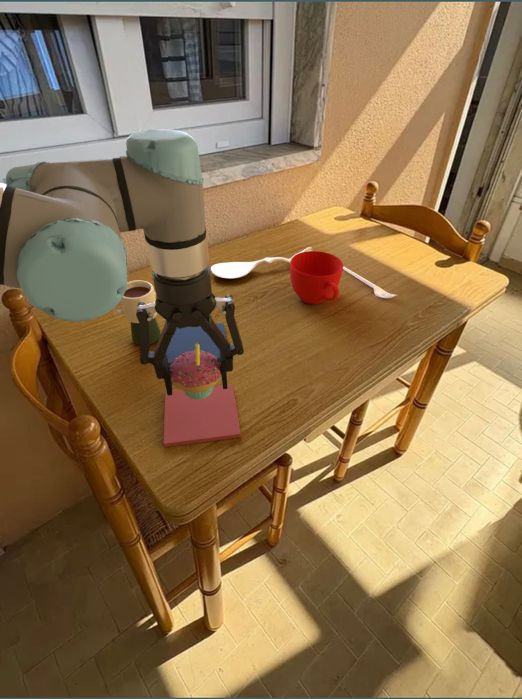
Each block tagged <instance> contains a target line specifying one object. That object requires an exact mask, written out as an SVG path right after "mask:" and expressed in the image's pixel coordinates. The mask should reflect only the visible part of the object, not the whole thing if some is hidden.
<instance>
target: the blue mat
mask: <svg viewBox="0 0 522 699" xmlns="http://www.w3.org/2000/svg"><path fill="white" fill-rule="evenodd" d="M215 324H216V325H217V327H218V328H219V329H220V331H221V332H222V334H223V335H224V336H225V338H226V339H227V336H226V330H225V323H224V322H218V323H215ZM197 342H198V344H199V346H200V350H202V351H207V352H208V353H211V354H212V355H214V356H215V357H217V359H218V360H219V362H220V350H219V349H218V347H217V346H216V345H215V343H214V342H213V341H212V339H211V338H210V337H209V335H208V334H207V333H206V332H204V330H203V329H202V328H201V327H186V328H180V329H178V327H177V329H176V331H175V333H174V335H173V336H172V339H171V341H170V344H169V346H168V348H167V351H166V353H165V355H167V359H168V364H169V367H170V365H171V364H172V362H173V361H174V360H175V358H177V357H178V356H180V354H183V353H185V352H188V351H194V350H195V345H196V344H197Z"/></svg>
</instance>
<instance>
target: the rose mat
mask: <svg viewBox="0 0 522 699" xmlns="http://www.w3.org/2000/svg"><path fill="white" fill-rule="evenodd" d="M227 388H228V389H223V384H221V385H215V386H214V387H213V391H212V393H211V394H210V395H209V396H208V397H206V398H204V399H199V400H196V399H191V398H189V397H188V396H187V395H186V394H185V392H184V391H183V390H181V389H177V390H176V389H175V390H172V395H169V396H168V395H167V391H164V413H163V414H164V417H163V420H164V421H163V447H164V448H169V447H176V446H185V445H193V444H200V443H207V442H215V441H222V440H231V439H238V438H241V437H242V435H241V428H240V422H239V421H240V420H239V414H238V408H237V402H236V396H235V390H234V389H235V388H234V384H233V383H230V384H227Z"/></svg>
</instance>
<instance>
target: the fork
mask: <svg viewBox="0 0 522 699" xmlns="http://www.w3.org/2000/svg"><path fill="white" fill-rule="evenodd" d="M343 270H344V271H345V272H347V273H348V274H350V275H351V276H353V277H355V278H356V279H357V280H359V281H361V282H362V283H364V284H366V285H367V286H369V287H371V289H373V292H374V293H373V294H374V295H375V296H376V297H378V298H382V299H392V298H394V297H396V296H397V294H393V293H390V292H387V291H386V290H384V289H383V288H381V287H380V286H378V285H376V284H374V283H373V282H371V281H369V280H368V279H366V278H364V276H363V277H362V276H361V275H359V274H357V273H356V272H354V271H353V270H351V269H350V268H347V267H345V266H343Z"/></svg>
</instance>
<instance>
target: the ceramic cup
mask: <svg viewBox="0 0 522 699" xmlns="http://www.w3.org/2000/svg"><path fill="white" fill-rule="evenodd" d="M298 253H299V254H297V253H296V254H297V255H295V254H294V255H295V256H294V255H293V256H294V257H293V256H292V257H293V258H292V257H291V258H292V259H291V261H290V263H289V277H290V283H291V287H292V289H293V292H294V293H295V294H296V296H297V297H298V298H299V299H300V300H301V301H302V302H303V303H305V304H308V305H319V304H322V303H324V302H325V301H327V302H333V301H336V300H337V299H338V298H339V295H340V288H339V284H340V282H341V277H342V274H343V267H344V263H343V261H342V260H341V258H339V257H338V256H336V255H334V254H332V253H329V252H326V251H320V250H313V251H307V252H302V253H300V252H298Z"/></svg>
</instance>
